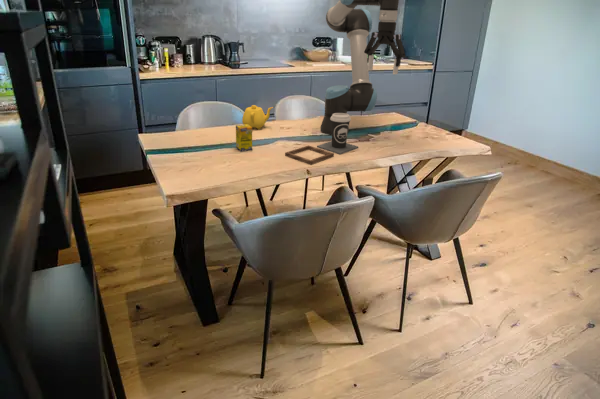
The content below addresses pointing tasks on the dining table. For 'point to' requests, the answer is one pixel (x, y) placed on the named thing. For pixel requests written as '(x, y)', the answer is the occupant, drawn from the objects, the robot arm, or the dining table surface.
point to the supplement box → (243, 137)
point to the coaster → (329, 147)
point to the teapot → (255, 116)
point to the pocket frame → (291, 155)
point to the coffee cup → (339, 129)
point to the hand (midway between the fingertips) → (382, 72)
